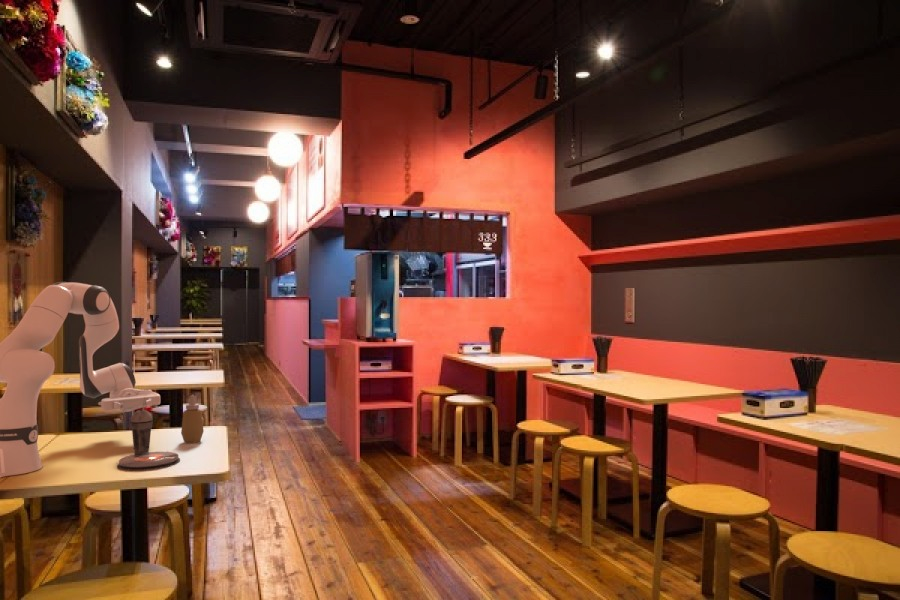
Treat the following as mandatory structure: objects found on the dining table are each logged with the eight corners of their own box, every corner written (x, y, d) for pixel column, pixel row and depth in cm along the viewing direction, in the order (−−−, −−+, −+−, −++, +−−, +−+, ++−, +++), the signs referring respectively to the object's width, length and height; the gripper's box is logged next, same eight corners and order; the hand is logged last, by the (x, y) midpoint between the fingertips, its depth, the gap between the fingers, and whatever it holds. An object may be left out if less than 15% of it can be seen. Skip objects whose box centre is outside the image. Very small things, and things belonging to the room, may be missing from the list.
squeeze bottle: (176, 443, 241) (176, 396, 241) (190, 438, 249) (190, 393, 249) (194, 444, 239) (194, 397, 239) (208, 440, 246) (208, 394, 246)
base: (104, 470, 202) (104, 469, 202) (137, 456, 221) (137, 455, 221) (162, 471, 201) (162, 470, 201) (190, 456, 220) (190, 455, 220)
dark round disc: (106, 468, 202) (107, 464, 202) (138, 454, 220) (138, 450, 220) (161, 468, 201) (161, 464, 201) (188, 455, 219) (188, 451, 219)
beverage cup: (125, 454, 223) (125, 398, 223) (144, 450, 229) (144, 395, 229) (139, 457, 219) (139, 399, 219) (157, 452, 226) (157, 396, 226)
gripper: (97, 394, 239) (103, 399, 228) (155, 389, 251) (163, 393, 240) (97, 411, 239) (103, 416, 228) (155, 404, 251) (164, 409, 240)
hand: (135, 404), depth 234 cm, fingers open, 8 cm apart
